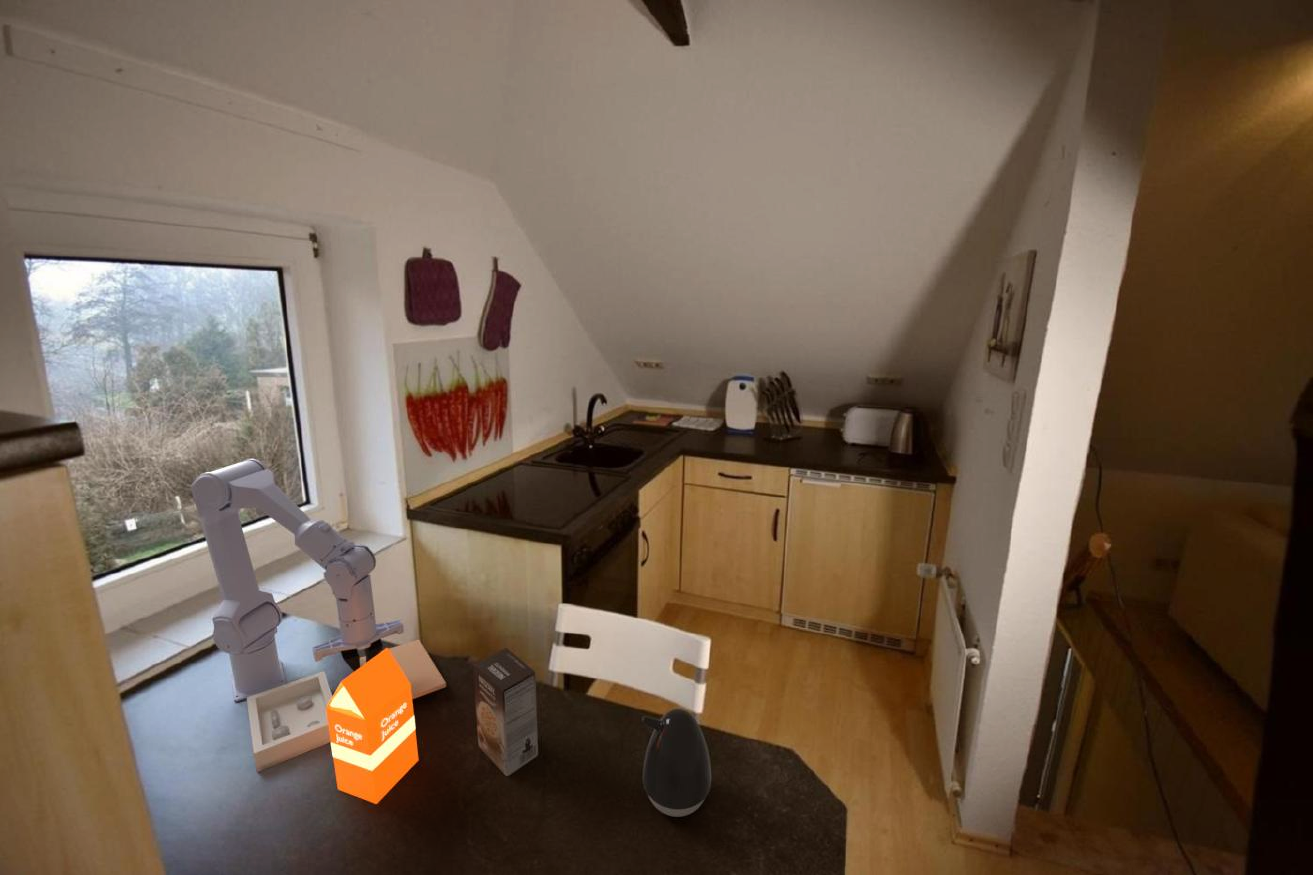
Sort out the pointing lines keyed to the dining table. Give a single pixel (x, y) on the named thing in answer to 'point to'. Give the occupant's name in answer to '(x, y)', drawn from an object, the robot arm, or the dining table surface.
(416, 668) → the lid
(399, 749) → the orange juice
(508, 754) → the coffee box
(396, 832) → the dining table surface
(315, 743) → the parts tray
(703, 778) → the pump dispenser
